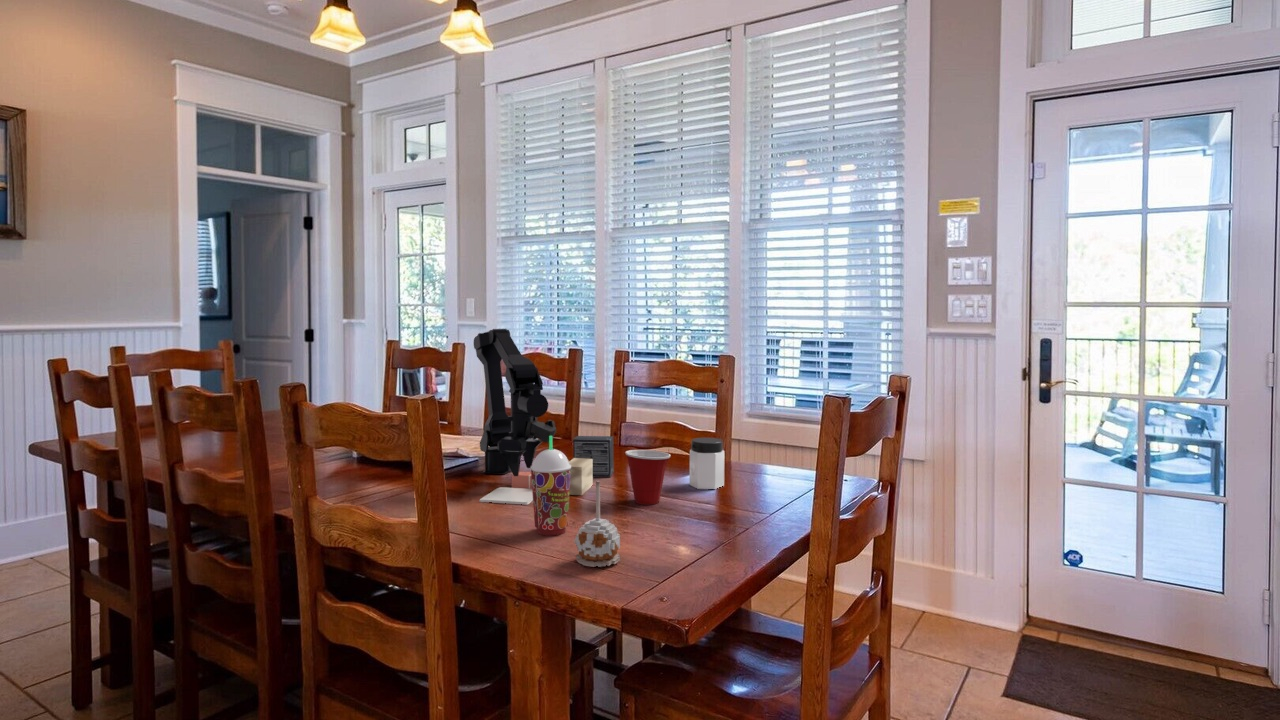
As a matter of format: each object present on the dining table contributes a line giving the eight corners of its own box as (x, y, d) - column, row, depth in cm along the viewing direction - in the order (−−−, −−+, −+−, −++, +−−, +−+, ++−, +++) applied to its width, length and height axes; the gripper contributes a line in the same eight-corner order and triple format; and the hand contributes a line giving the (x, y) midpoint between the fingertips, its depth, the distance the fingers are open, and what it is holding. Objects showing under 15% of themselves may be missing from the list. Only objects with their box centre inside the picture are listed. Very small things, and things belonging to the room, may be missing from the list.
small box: (614, 472, 204) (614, 435, 203) (611, 477, 197) (611, 439, 197) (577, 471, 205) (576, 434, 204) (572, 476, 198) (572, 438, 198)
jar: (684, 483, 191) (685, 438, 190) (712, 480, 194) (712, 436, 194) (700, 491, 183) (701, 444, 182) (728, 488, 186) (729, 442, 185)
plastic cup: (679, 503, 172) (679, 453, 171) (640, 510, 166) (640, 458, 165) (655, 493, 181) (655, 445, 180) (617, 499, 175) (617, 450, 175)
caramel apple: (568, 565, 131) (568, 483, 130) (589, 552, 138) (588, 474, 137) (607, 572, 128) (607, 488, 127) (626, 558, 135) (626, 478, 134)
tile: (479, 501, 173) (479, 499, 173) (499, 489, 184) (499, 487, 184) (527, 504, 170) (527, 502, 170) (544, 492, 182) (544, 489, 182)
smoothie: (554, 540, 145) (554, 441, 143) (522, 533, 149) (521, 437, 147) (579, 529, 152) (579, 434, 150) (548, 523, 156) (547, 431, 155)
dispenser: (539, 492, 181) (539, 465, 181) (552, 483, 191) (552, 456, 190) (581, 495, 179) (581, 467, 178) (592, 485, 189) (592, 458, 188)
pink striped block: (511, 488, 186) (511, 474, 186) (517, 484, 190) (517, 471, 190) (564, 491, 183) (564, 477, 183) (569, 487, 187) (569, 473, 187)
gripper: (539, 418, 175) (540, 482, 176) (563, 407, 193) (563, 465, 195) (496, 416, 178) (497, 479, 179) (523, 406, 196) (524, 463, 197)
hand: (522, 471), depth 187 cm, fingers open, 9 cm apart
